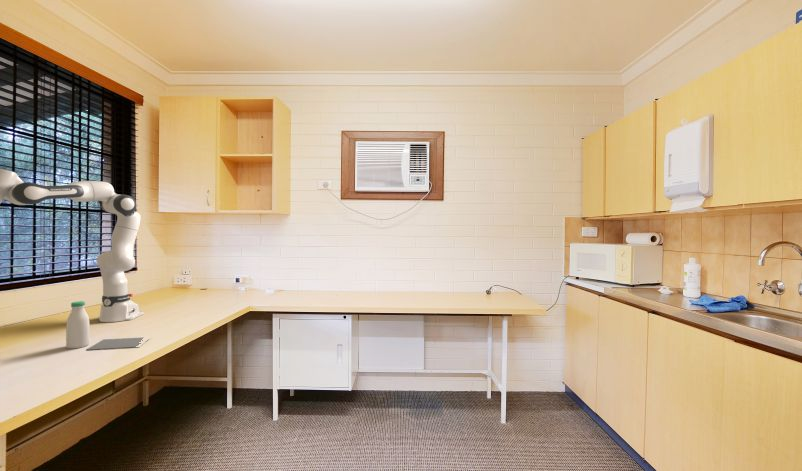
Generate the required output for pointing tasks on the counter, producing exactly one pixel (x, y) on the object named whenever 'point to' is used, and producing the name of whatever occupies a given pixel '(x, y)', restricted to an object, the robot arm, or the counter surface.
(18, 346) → the counter surface
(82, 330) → the milk bottle
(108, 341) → the mat
